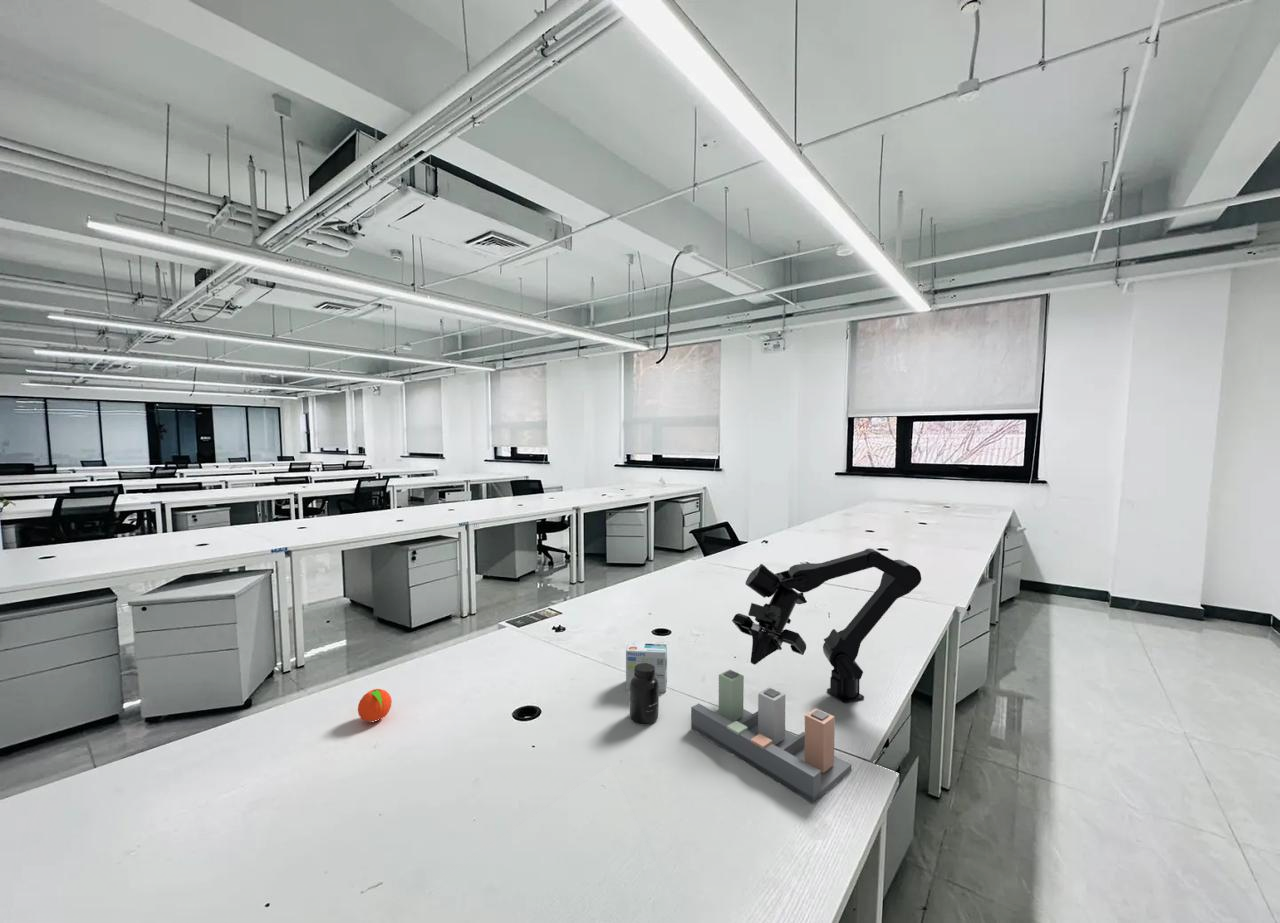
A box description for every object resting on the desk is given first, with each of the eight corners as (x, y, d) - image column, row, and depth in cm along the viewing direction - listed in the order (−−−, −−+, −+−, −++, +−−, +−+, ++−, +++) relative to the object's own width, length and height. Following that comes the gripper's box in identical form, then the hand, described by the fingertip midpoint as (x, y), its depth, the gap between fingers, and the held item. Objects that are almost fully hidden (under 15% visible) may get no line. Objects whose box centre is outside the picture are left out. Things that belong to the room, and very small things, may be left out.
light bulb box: (667, 680, 132) (667, 641, 131) (666, 693, 125) (666, 652, 124) (628, 678, 133) (628, 640, 132) (625, 691, 126) (625, 650, 126)
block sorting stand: (731, 707, 118) (731, 685, 118) (851, 770, 95) (851, 743, 95) (690, 729, 109) (690, 705, 109) (812, 804, 86) (812, 774, 86)
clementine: (398, 721, 112) (397, 691, 112) (365, 734, 107) (365, 702, 107) (385, 708, 117) (385, 679, 117) (353, 720, 112) (353, 690, 112)
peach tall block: (815, 754, 98) (815, 706, 97) (834, 764, 94) (834, 715, 94) (804, 762, 95) (804, 713, 95) (823, 773, 92) (823, 722, 92)
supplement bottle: (656, 727, 109) (656, 675, 109) (626, 724, 111) (626, 672, 110) (660, 711, 116) (660, 662, 116) (633, 708, 118) (633, 659, 117)
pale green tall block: (729, 709, 114) (730, 668, 114) (743, 716, 111) (743, 674, 111) (718, 715, 112) (718, 673, 112) (732, 722, 109) (732, 679, 108)
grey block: (769, 729, 106) (769, 685, 106) (785, 738, 103) (785, 693, 103) (758, 736, 103) (758, 691, 103) (773, 745, 100) (774, 699, 100)
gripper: (736, 582, 127) (707, 634, 120) (800, 599, 112) (771, 659, 106) (755, 605, 132) (728, 656, 125) (818, 625, 118) (791, 684, 111)
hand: (752, 663), depth 117 cm, fingers closed
